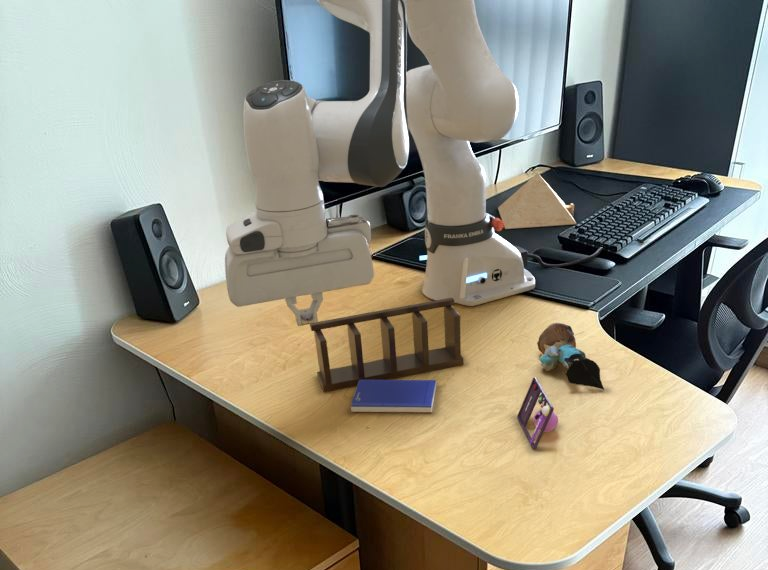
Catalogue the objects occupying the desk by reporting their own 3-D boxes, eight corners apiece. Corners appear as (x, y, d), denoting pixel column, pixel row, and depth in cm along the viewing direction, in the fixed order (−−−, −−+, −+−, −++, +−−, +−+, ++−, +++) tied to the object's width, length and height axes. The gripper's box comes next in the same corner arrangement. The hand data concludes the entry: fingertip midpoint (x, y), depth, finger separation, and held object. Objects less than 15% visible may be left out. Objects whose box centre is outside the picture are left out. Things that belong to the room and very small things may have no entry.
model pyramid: (579, 224, 179) (583, 179, 173) (505, 229, 180) (506, 184, 174) (567, 203, 192) (570, 160, 186) (497, 208, 193) (498, 166, 187)
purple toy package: (529, 375, 109) (546, 407, 102) (561, 382, 110) (581, 413, 103) (512, 416, 113) (528, 448, 106) (544, 422, 114) (562, 455, 107)
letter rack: (453, 351, 132) (452, 297, 126) (463, 364, 128) (463, 308, 122) (317, 378, 128) (309, 323, 122) (323, 392, 124) (316, 336, 118)
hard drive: (350, 404, 117) (431, 404, 115) (359, 378, 123) (436, 378, 121) (351, 412, 118) (431, 413, 116) (360, 386, 124) (436, 387, 122)
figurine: (569, 348, 130) (572, 314, 126) (606, 391, 117) (610, 355, 114) (527, 354, 129) (528, 320, 125) (558, 398, 117) (561, 362, 113)
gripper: (363, 205, 105) (372, 302, 113) (214, 229, 101) (234, 327, 110) (375, 218, 100) (383, 318, 108) (218, 244, 96) (239, 345, 105)
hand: (307, 323), depth 109 cm, fingers closed
